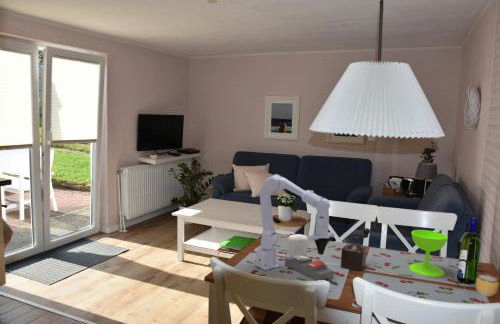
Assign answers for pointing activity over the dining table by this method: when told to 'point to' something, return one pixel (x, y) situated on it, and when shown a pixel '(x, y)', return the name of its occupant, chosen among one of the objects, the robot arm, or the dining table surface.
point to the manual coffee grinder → (354, 254)
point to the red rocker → (316, 264)
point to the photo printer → (297, 245)
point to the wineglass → (428, 251)
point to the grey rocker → (301, 257)
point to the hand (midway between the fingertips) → (320, 254)
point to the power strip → (310, 269)
